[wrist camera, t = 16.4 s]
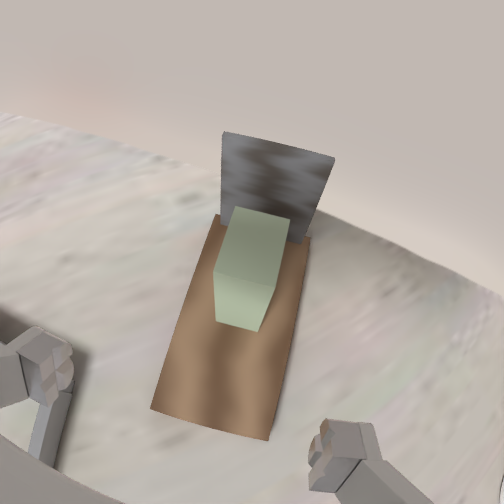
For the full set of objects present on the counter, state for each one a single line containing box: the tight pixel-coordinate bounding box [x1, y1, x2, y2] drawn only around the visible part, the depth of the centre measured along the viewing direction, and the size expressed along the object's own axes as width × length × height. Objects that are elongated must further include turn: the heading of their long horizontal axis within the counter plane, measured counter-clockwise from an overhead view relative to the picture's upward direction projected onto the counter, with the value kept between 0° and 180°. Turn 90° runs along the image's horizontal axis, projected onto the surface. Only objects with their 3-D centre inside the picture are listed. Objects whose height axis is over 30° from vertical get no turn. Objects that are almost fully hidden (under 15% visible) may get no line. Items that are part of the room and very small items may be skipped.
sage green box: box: [213, 206, 290, 332], centre depth 29 cm, size 4×6×12 cm
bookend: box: [150, 131, 335, 441], centre depth 28 cm, size 12×24×16 cm, turn 166°
